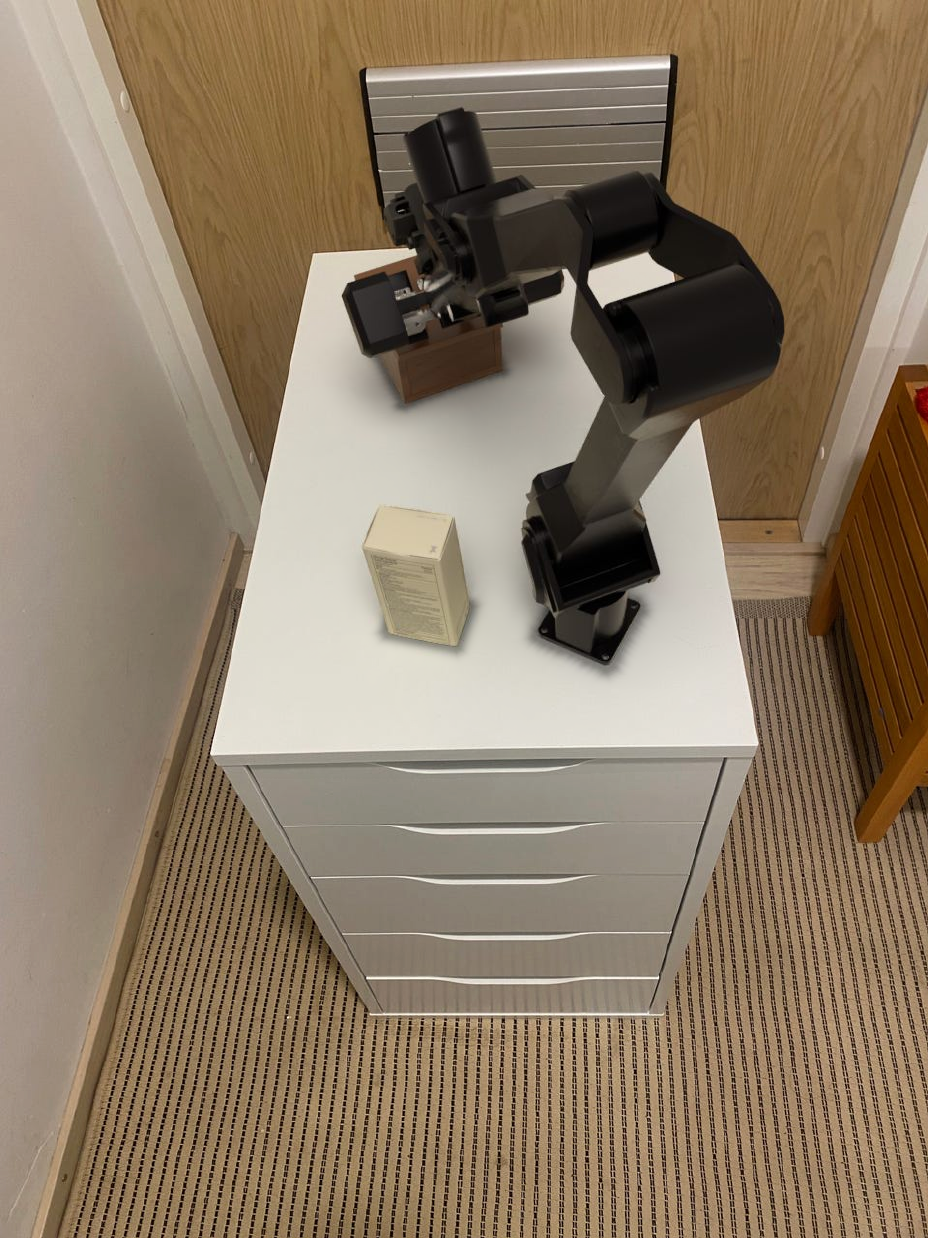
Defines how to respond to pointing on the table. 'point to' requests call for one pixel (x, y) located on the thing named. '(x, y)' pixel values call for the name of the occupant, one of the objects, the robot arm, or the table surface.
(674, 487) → the table surface
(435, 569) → the cosmetic box
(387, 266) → the lid
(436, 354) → the wooden box
